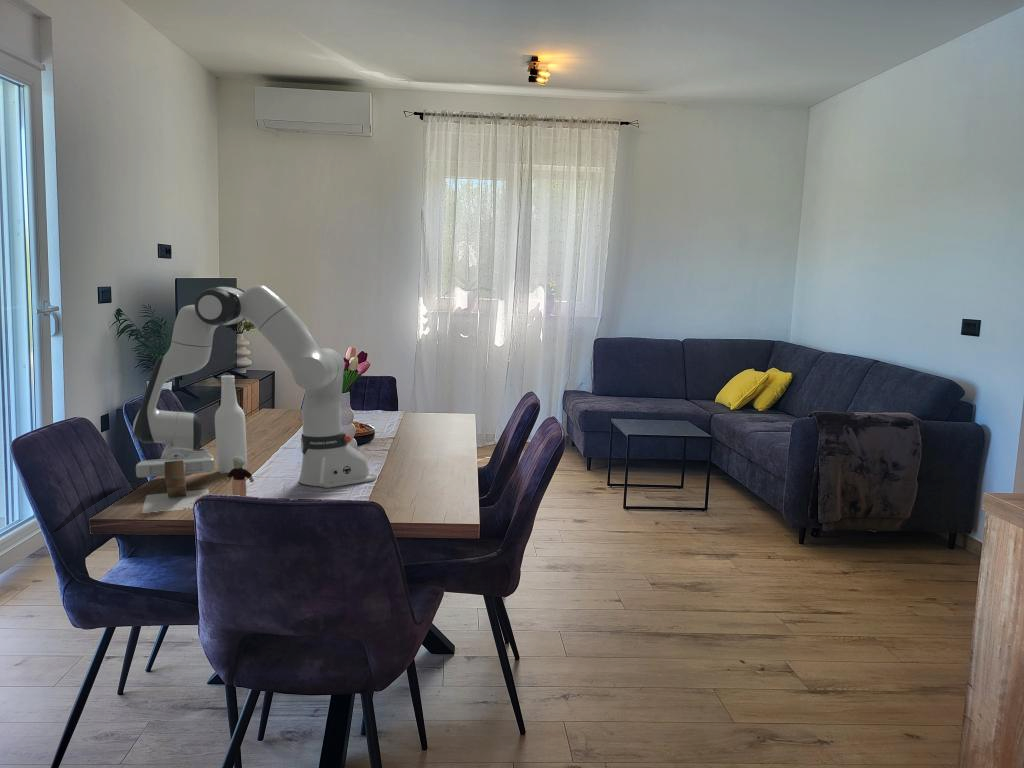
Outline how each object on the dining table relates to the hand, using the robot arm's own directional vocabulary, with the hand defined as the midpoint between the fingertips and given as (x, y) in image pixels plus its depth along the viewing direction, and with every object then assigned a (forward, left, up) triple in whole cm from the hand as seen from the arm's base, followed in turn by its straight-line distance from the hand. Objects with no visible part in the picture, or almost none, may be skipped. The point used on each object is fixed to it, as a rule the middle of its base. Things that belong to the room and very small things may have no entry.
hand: (175, 472), depth 210 cm
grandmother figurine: (-16, +9, -8) cm, 20 cm away
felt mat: (0, +4, -7) cm, 8 cm away
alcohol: (-15, -26, -8) cm, 31 cm away
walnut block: (0, -1, -5) cm, 6 cm away
